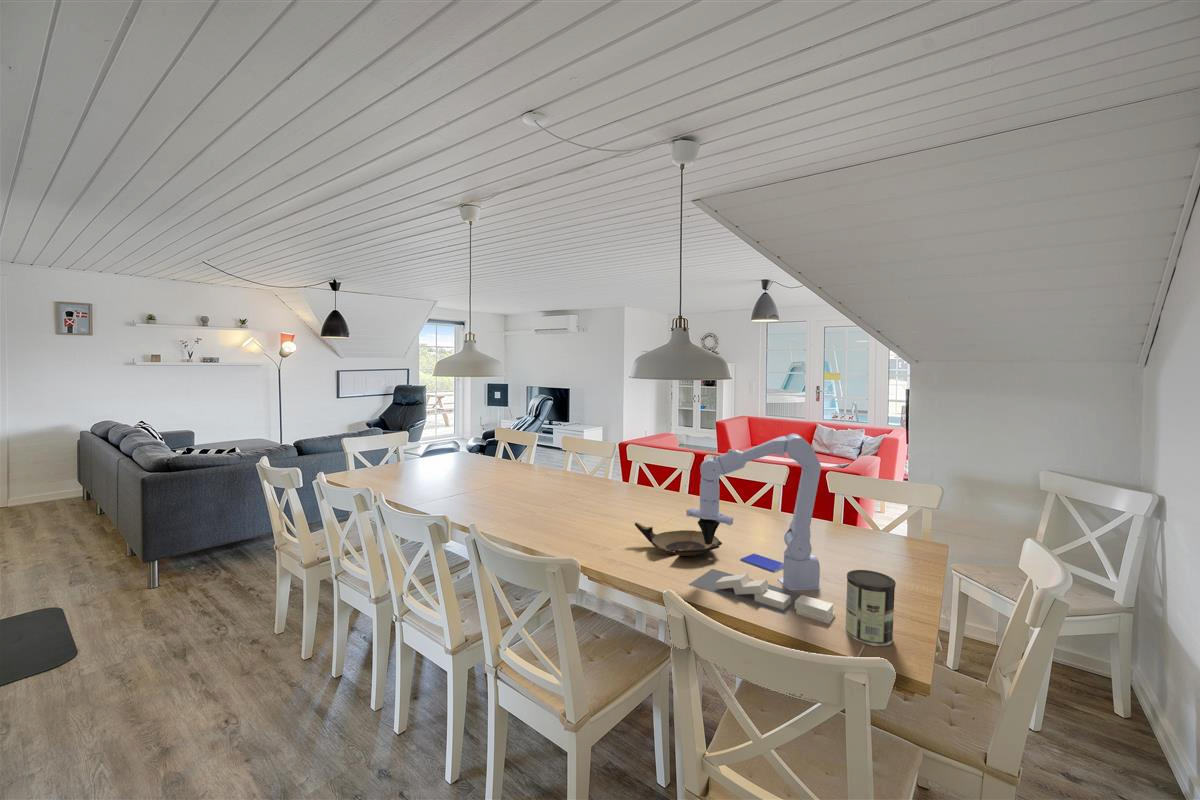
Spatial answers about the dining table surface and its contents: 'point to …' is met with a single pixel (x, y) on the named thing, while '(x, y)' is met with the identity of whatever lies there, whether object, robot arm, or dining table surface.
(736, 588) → the domino
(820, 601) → the domino
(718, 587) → the domino
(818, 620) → the domino
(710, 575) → the mat
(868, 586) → the coffee can
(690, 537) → the oil lamp
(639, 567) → the dining table surface
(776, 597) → the domino
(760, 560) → the hard drive
